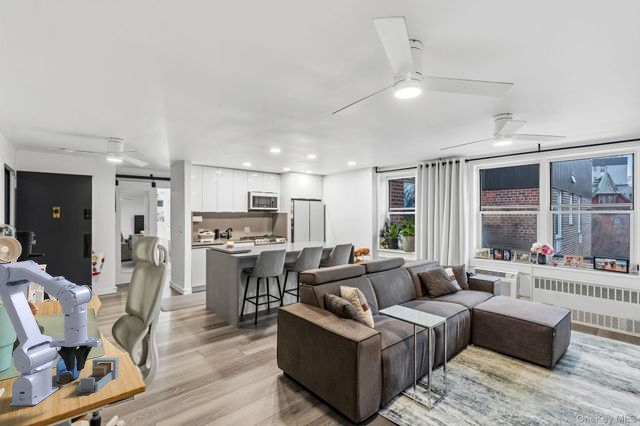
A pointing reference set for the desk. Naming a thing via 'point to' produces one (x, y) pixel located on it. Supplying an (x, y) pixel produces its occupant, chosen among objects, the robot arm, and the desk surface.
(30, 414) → the desk surface
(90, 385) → the sled
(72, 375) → the perfume bottle
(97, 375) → the walnut block
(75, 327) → the robot arm
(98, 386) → the arch track
